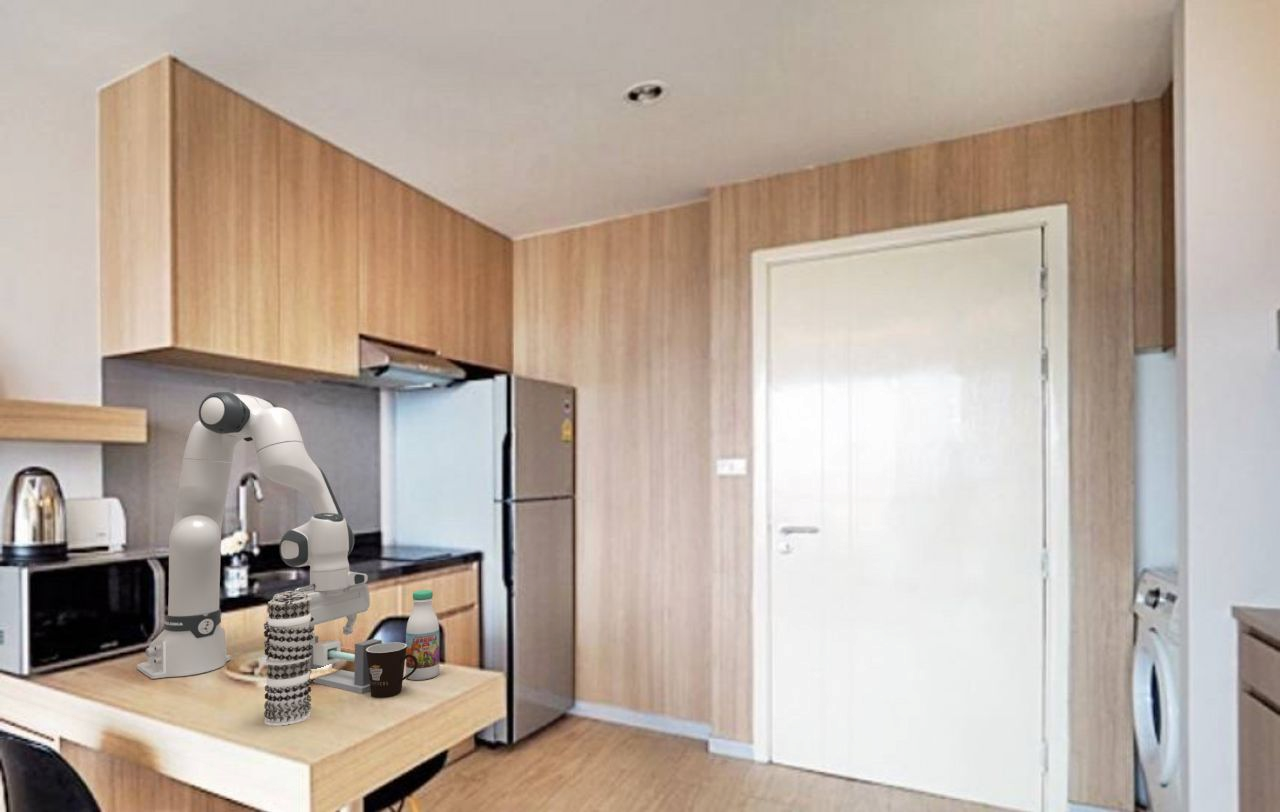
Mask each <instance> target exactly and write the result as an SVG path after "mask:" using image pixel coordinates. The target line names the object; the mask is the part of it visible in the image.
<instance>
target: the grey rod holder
mask: <svg viewBox="0 0 1280 812" xmlns="http://www.w3.org/2000/svg"><path fill="white" fill-rule="evenodd" d="M382 643H383V640H382V639H376V638H372V639H368V640H365V641H364V640H363V641H360V642H356V643H354V653H350V652H344V651H341V652H340V651H335V650H329V649H328V651H327V657H332V658H337V659H341V660H343V661H348V662H353V663H354V671H349V670H344V669H341V670H340V671H338V672H335V673H332V674H329V675H326V676H322V677H319V678H316V679H315V680H313V682H314V684H319V685H322V686H323V685H324V686H327V687H332V688H336V689H340V690H344V691H349V692H353V693H357V694H361V695H362V694H363V695H364V694H366V693H369V692H371V691H370V682H369V673H368V664H367V655H366V649H367V648H368V647H370V646H373V645H376V644H382ZM312 646H313V645H312ZM309 652H310V653H311V654H312V657H311V658H310V659H309V667H308V668H309V670H310V669H317V668H321V667H324V666H320V665H316V664H313V648H312V649H311V650H309ZM313 682H312V683H313Z"/></svg>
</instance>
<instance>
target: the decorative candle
mask: <svg viewBox="0 0 1280 812" xmlns="http://www.w3.org/2000/svg"><path fill="white" fill-rule="evenodd" d="M311 599H312V598H311V597H308V596H307V594H306V593H305V592H304V591H295V590H289V591H283V592H282V591H281V592H277V593H276V594H274V596H272V598H271V600H270V601H268V602H267V603H268V616H267V621H266V622H264V623H263V628H264V631H263V636H264V637H265V638H266V640H265V641H264V642H263V643H264V647H265V649H264V654H265V655H266V657H267V658H266V659H265V660H264V661H265V664H266V665H267V676H266V685H265V686H264V691H265V692H266V693H265V694H264V699H265V700H266V701H265V702H264V704H263V707H264V712H263V715H264V717H265V718H264V724H265V725H266V726H269V727H270V726H271V727H281V726H282V725H285V726H289V725H288V724H290V725H294V724H297V723H301V722H304V721H305V720H307V719H309V718H310V717H311V715H312V714H311V711H310V710H311V708H312V704H311V703H310V702H312V696H311V695H309V694H310V693H311V692H312V687H311V686H310V685H311V684H312V682H311V679H310V671H309V668H308V667H309V659H310V658H311V657H312V654H311V653H310V652H309V650H311V649H312V648H313V646H312V645H310V644H309V640H311V639H313V636H312V635H311V634H309V633H311V632H312V631H313V632H314V631H315V627H314V628H312V627H311V626H309V621H310V622H312V621H313V620H314V618H313V617H312V618H311V613H310V612H309V609H310V604H309V602H310V600H311ZM282 727H283V726H282Z"/></svg>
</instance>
